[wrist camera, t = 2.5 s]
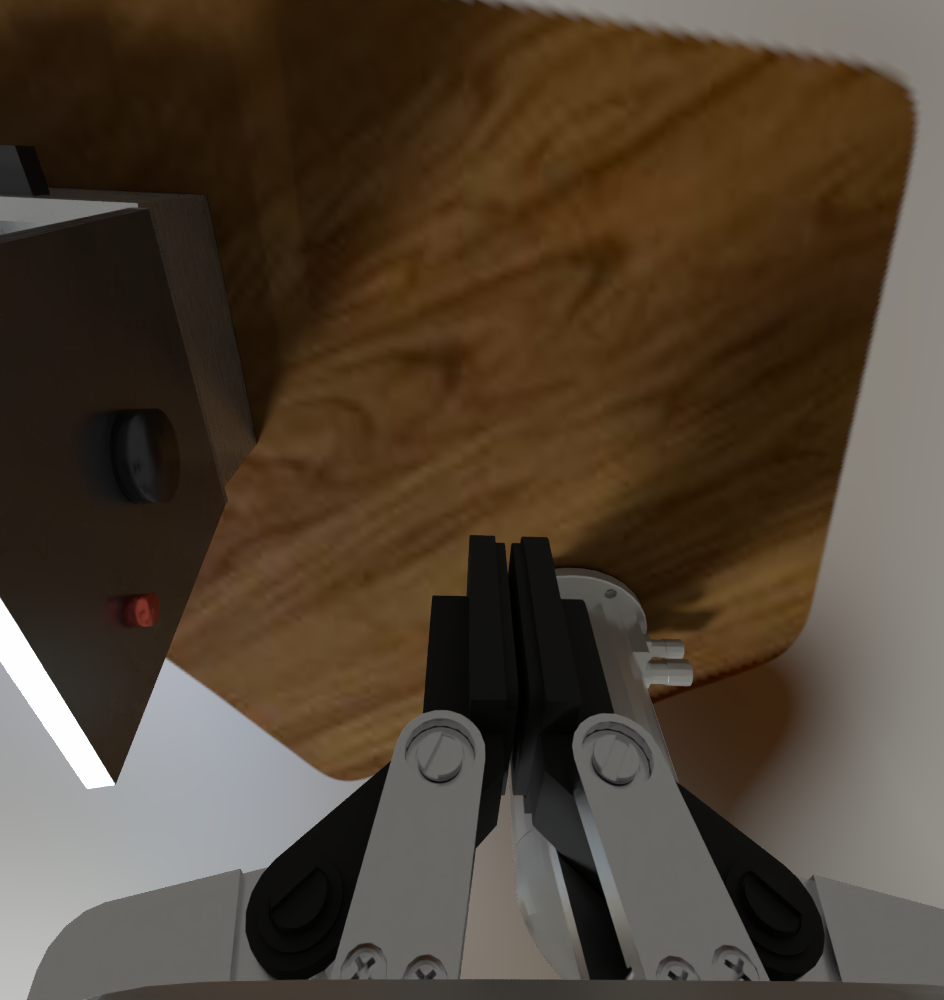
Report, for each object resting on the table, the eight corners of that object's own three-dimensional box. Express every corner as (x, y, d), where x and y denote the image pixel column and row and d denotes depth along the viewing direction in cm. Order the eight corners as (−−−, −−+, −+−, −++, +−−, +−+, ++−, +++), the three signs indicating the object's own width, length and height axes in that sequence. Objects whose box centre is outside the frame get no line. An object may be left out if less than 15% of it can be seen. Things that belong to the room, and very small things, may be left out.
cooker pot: (197, 153, 23) (123, 151, 18) (261, 466, 32) (223, 523, 27) (-98, 139, 23) (-256, 132, 18) (48, 459, 32) (-31, 514, 27)
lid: (132, 206, 19) (177, 208, 19) (212, 498, 26) (245, 496, 26) (-256, 288, 7) (-123, 288, 7) (85, 788, 14) (147, 780, 14)
